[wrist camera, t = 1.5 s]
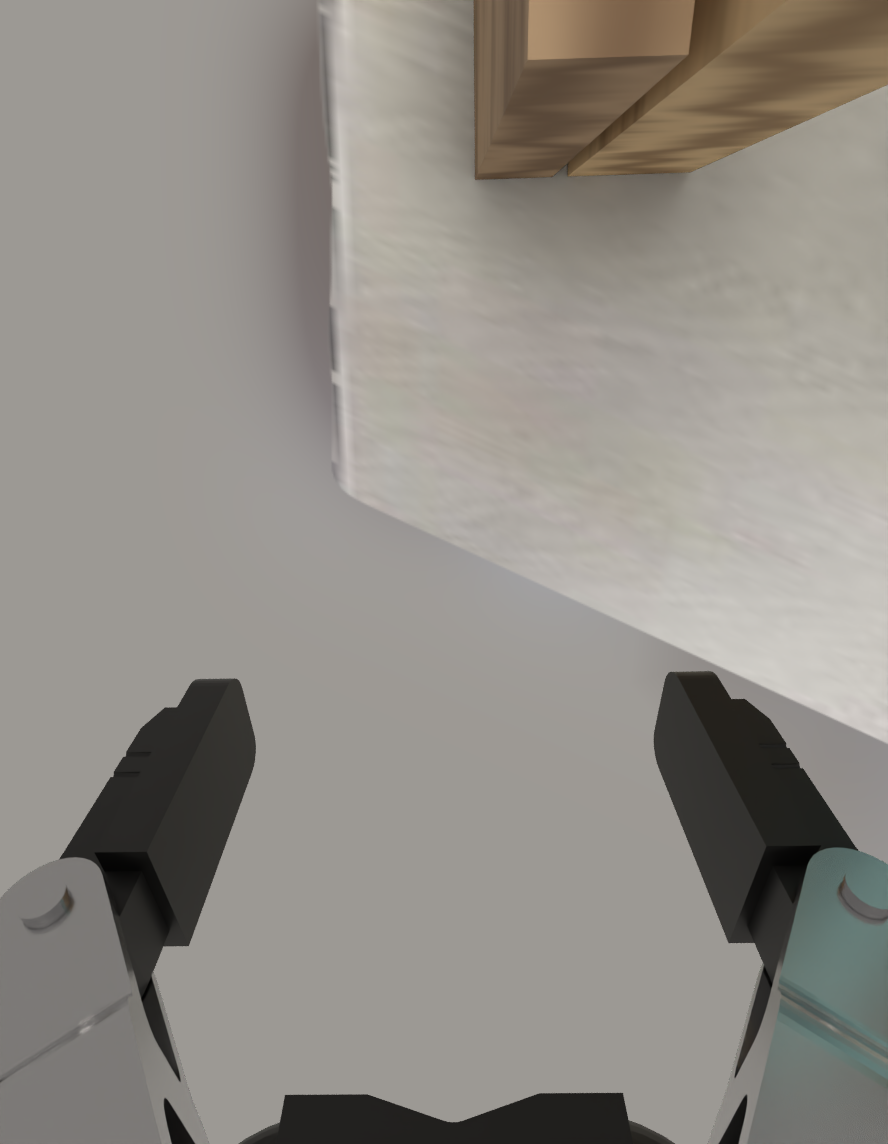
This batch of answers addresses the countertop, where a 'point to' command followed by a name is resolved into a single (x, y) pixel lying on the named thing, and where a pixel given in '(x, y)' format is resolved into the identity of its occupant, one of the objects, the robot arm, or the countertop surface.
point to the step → (564, 74)
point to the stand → (745, 83)
